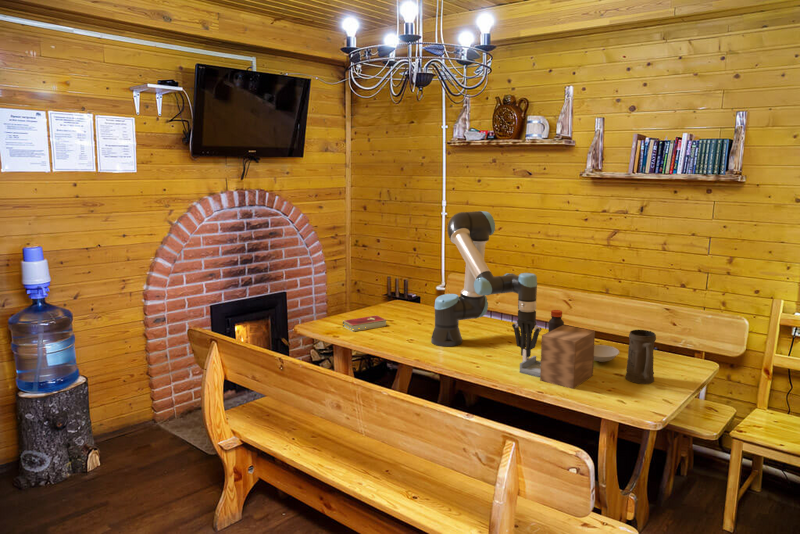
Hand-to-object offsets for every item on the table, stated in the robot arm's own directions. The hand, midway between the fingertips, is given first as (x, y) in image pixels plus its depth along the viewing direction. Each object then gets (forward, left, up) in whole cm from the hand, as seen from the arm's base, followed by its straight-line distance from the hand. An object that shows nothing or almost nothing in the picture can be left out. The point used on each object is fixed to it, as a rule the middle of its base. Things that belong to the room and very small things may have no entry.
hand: (525, 363), depth 248 cm
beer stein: (+44, +16, -2) cm, 47 cm away
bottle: (+1, +27, -2) cm, 27 cm away
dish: (+22, +29, -2) cm, 36 cm away
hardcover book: (-100, +4, -3) cm, 100 cm away
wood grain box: (+19, 0, -2) cm, 19 cm away
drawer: (+11, 0, -2) cm, 11 cm away
